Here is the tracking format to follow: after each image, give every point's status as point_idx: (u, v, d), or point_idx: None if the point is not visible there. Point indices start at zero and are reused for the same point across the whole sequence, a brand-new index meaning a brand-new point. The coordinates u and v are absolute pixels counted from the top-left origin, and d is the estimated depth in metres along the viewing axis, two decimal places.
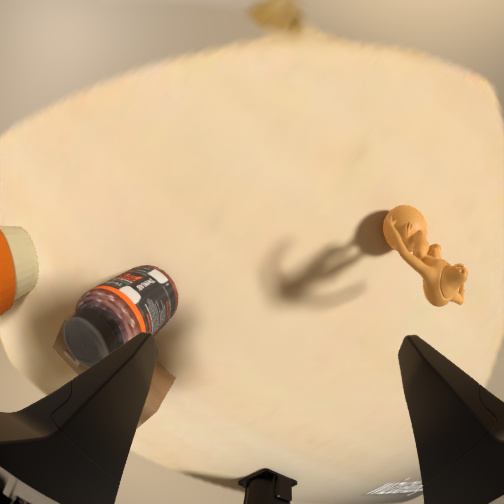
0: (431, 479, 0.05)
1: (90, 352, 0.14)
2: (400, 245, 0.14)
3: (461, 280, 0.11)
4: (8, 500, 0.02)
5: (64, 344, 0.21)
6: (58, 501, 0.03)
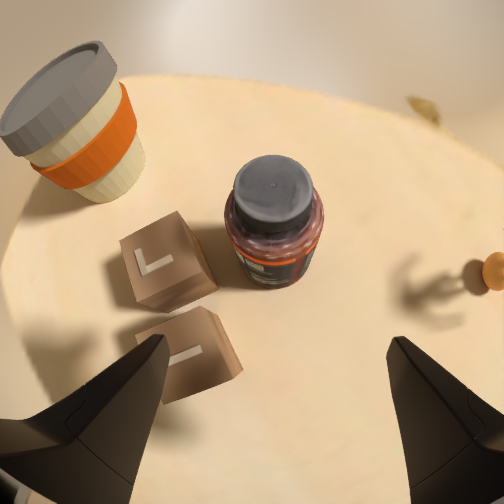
0: (418, 483, 0.05)
1: (279, 194, 0.13)
2: None
3: None
4: None
5: (145, 241, 0.19)
6: None
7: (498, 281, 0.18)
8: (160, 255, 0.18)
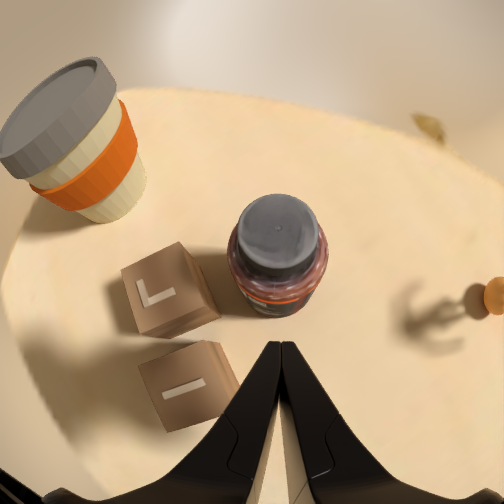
0: None
1: (284, 238, 0.13)
2: None
3: None
4: None
5: (147, 272, 0.18)
6: None
7: (498, 307, 0.18)
8: (163, 287, 0.18)
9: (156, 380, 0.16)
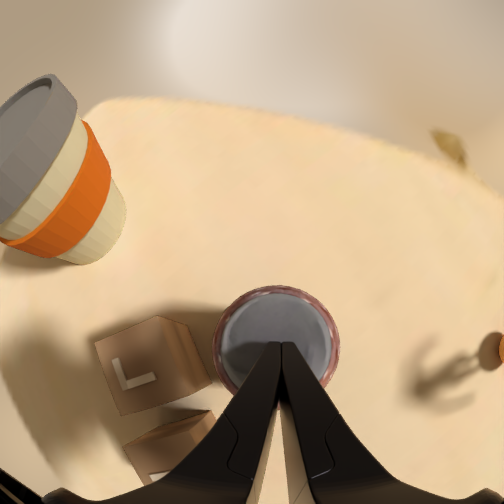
0: None
1: None
2: None
3: None
4: None
5: (122, 349, 0.14)
6: None
7: None
8: (141, 370, 0.14)
9: (142, 462, 0.12)
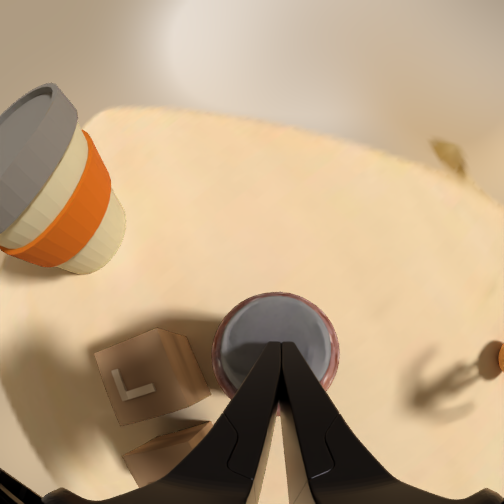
0: None
1: None
2: None
3: None
4: None
5: (122, 360, 0.14)
6: None
7: None
8: (141, 381, 0.14)
9: (142, 472, 0.11)
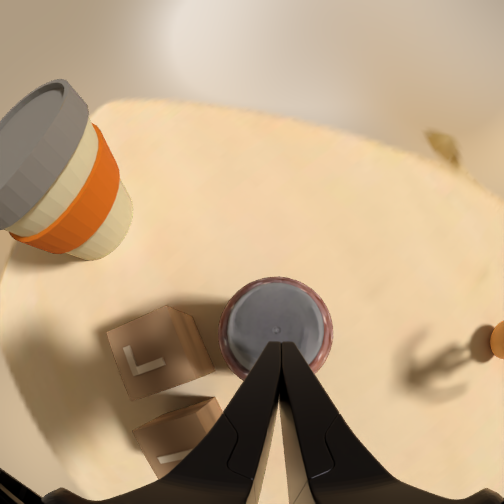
0: None
1: None
2: None
3: None
4: None
5: (133, 337, 0.16)
6: None
7: None
8: (151, 356, 0.16)
9: (151, 445, 0.13)
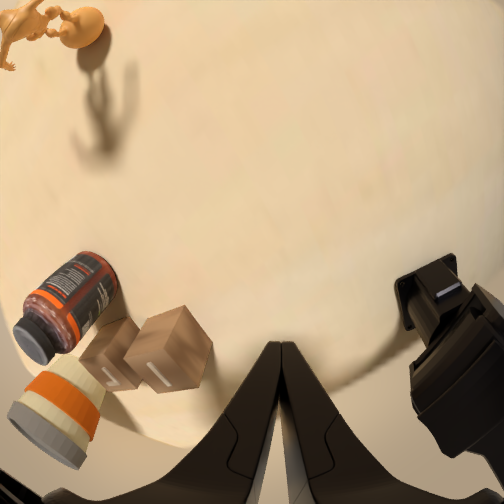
0: None
1: (31, 346, 0.14)
2: None
3: None
4: None
5: (101, 379, 0.23)
6: None
7: (84, 32, 0.12)
8: (105, 372, 0.22)
9: (161, 386, 0.22)
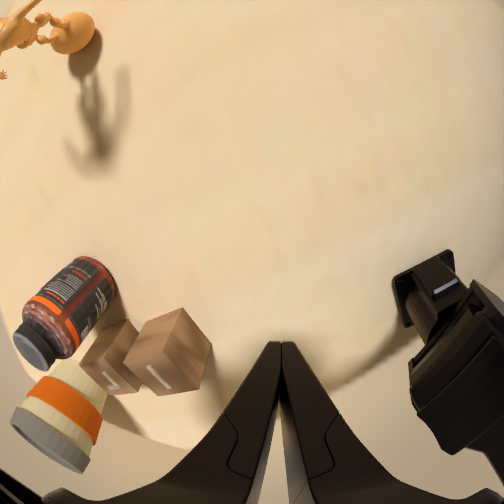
0: None
1: (31, 352, 0.14)
2: None
3: None
4: None
5: (102, 383, 0.23)
6: None
7: (75, 38, 0.12)
8: (105, 376, 0.22)
9: (161, 389, 0.22)
